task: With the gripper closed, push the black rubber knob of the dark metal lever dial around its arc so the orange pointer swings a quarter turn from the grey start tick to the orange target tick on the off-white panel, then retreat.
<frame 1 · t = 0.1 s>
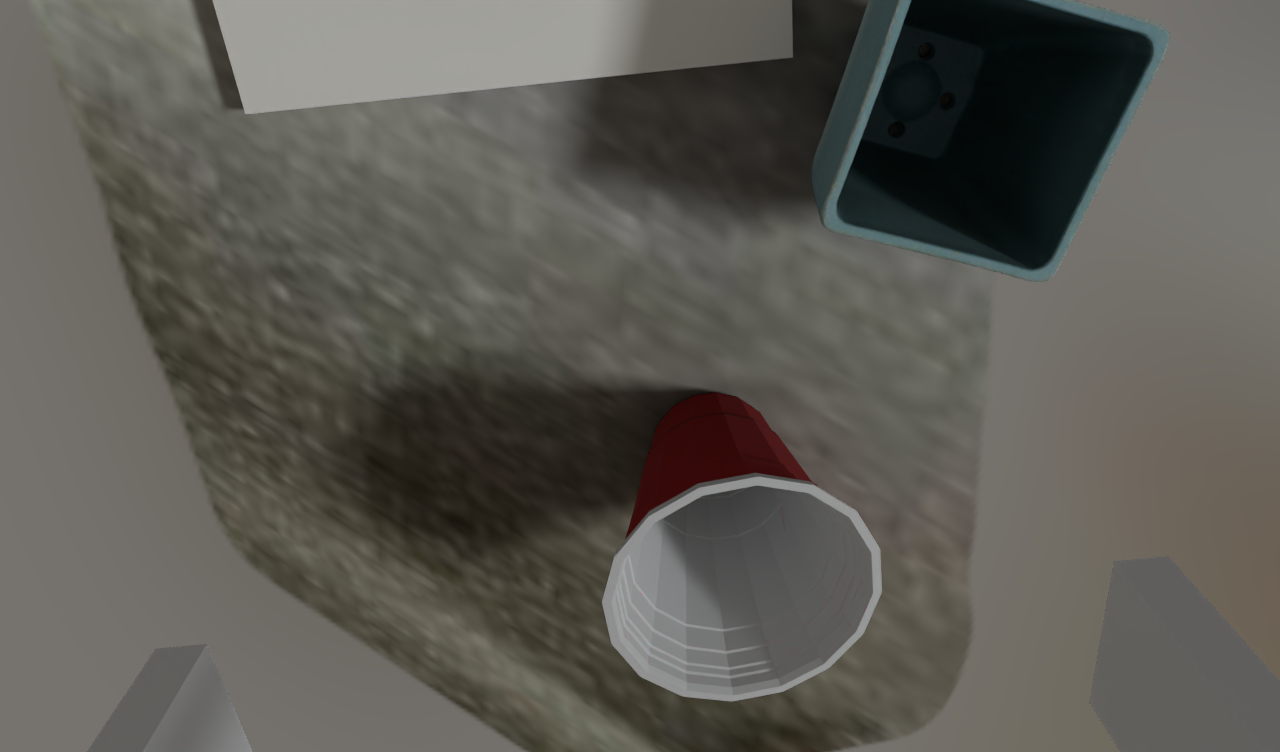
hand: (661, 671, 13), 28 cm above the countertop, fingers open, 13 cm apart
flower pot: (907, 91, 37), on the countertop
plastic cup: (715, 440, 44), on the countertop
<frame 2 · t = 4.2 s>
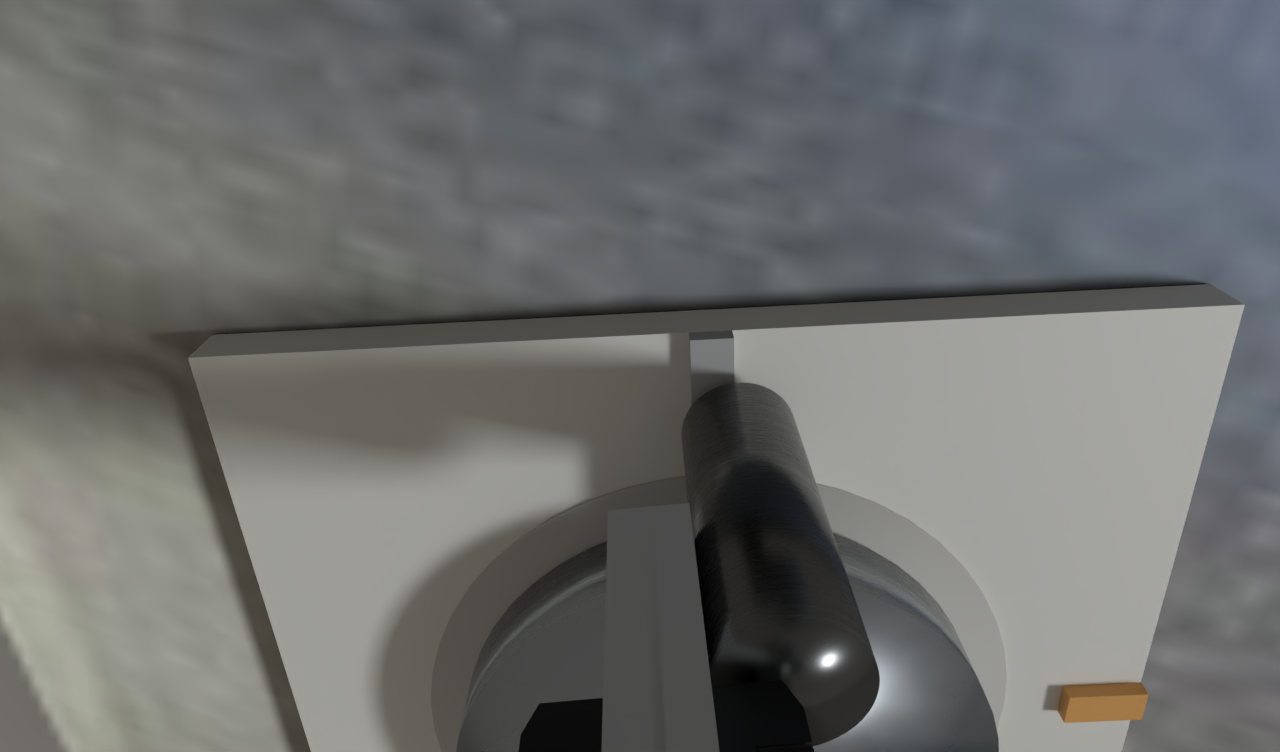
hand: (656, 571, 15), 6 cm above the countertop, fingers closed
panel: (713, 678, 24), on the countertop
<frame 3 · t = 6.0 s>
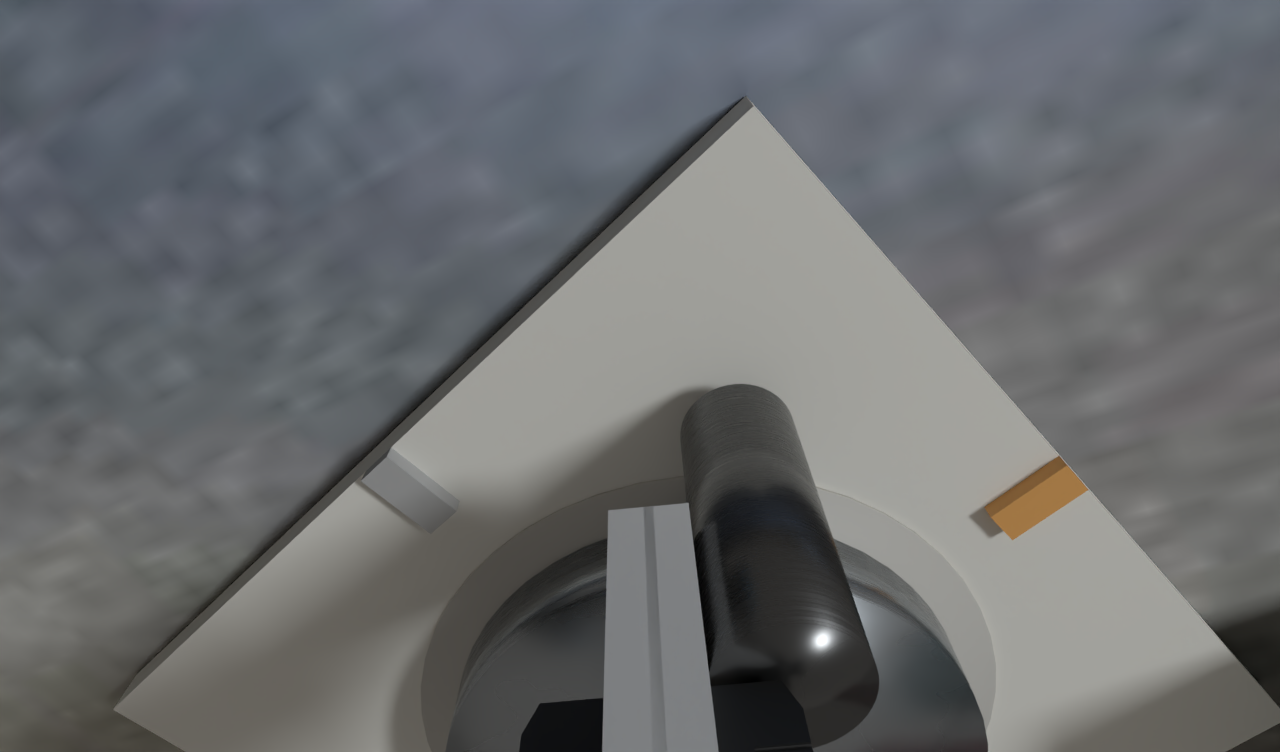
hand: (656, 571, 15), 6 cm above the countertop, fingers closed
panel: (704, 679, 24), on the countertop
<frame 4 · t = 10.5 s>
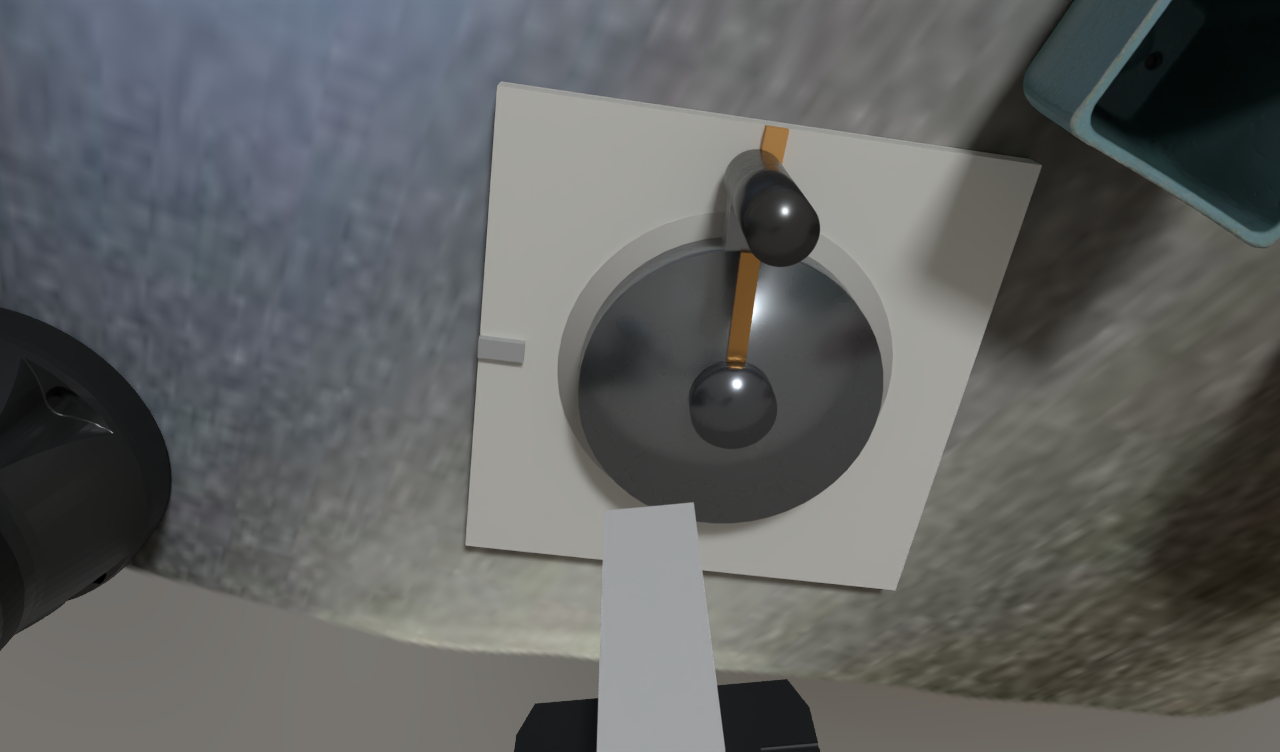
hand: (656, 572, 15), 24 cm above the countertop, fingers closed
dial: (741, 377, 35), point 5 cm above the countertop, hinge at 86.1°
flower pot: (1117, 38, 35), on the countertop
panel: (722, 363, 40), on the countertop
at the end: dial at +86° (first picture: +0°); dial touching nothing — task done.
